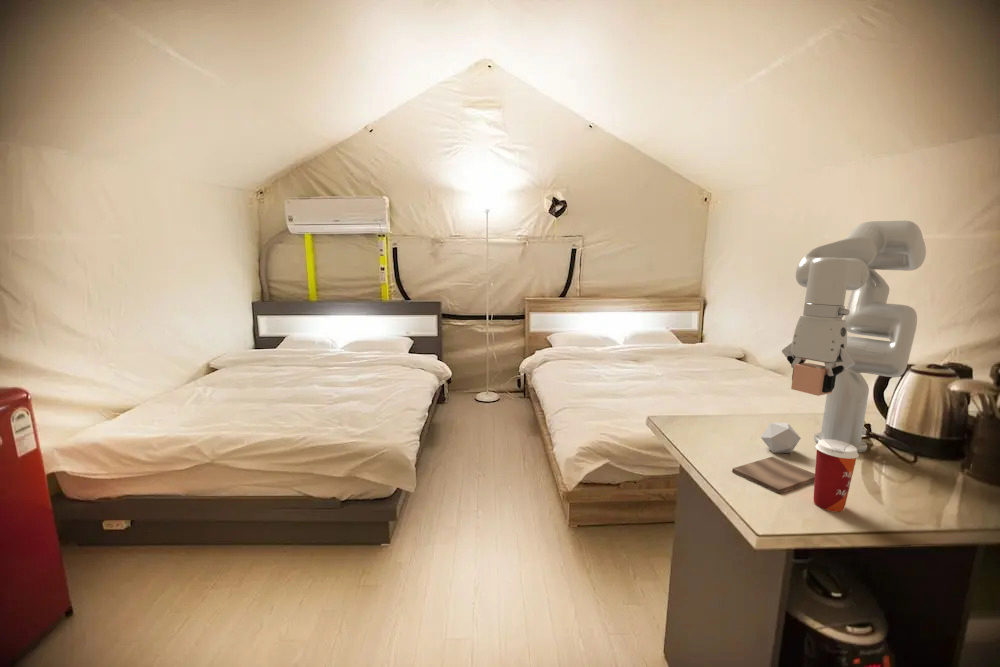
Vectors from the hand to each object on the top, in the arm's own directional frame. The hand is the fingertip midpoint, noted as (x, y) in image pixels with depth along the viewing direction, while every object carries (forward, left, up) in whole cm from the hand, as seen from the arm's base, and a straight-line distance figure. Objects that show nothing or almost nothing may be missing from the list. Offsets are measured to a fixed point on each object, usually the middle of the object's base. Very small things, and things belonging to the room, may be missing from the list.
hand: (811, 387), depth 112 cm
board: (+3, -4, -23) cm, 24 cm away
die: (-13, -13, -24) cm, 30 cm away
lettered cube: (0, 0, -1) cm, 1 cm away
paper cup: (+6, +10, -24) cm, 26 cm away
